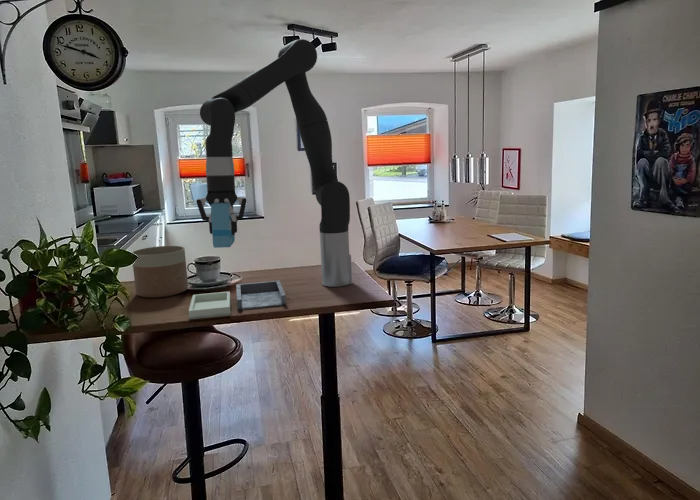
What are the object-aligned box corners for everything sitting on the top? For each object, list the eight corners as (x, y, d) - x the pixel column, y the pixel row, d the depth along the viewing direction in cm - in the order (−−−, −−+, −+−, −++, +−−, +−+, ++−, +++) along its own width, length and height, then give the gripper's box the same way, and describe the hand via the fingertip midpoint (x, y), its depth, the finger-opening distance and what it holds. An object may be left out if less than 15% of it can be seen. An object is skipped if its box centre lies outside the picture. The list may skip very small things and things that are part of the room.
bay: (280, 289, 166) (279, 280, 165) (286, 305, 148) (285, 295, 148) (237, 293, 163) (236, 284, 162) (237, 310, 145) (236, 299, 145)
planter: (187, 283, 179) (183, 244, 176) (190, 294, 164) (185, 251, 161) (137, 289, 173) (132, 248, 171) (135, 301, 159) (130, 257, 156)
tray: (230, 299, 157) (229, 291, 156) (230, 315, 141) (229, 306, 140) (193, 302, 155) (192, 294, 154) (189, 319, 139) (188, 310, 138)
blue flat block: (230, 248, 142) (227, 203, 140) (213, 248, 142) (210, 204, 140) (234, 241, 154) (232, 200, 152) (219, 241, 153) (217, 200, 151)
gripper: (246, 173, 149) (249, 232, 152) (194, 173, 146) (198, 234, 149) (247, 173, 142) (249, 236, 145) (192, 174, 139) (196, 238, 142)
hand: (223, 234), depth 147 cm, fingers closed on blue flat block, 4 cm apart
